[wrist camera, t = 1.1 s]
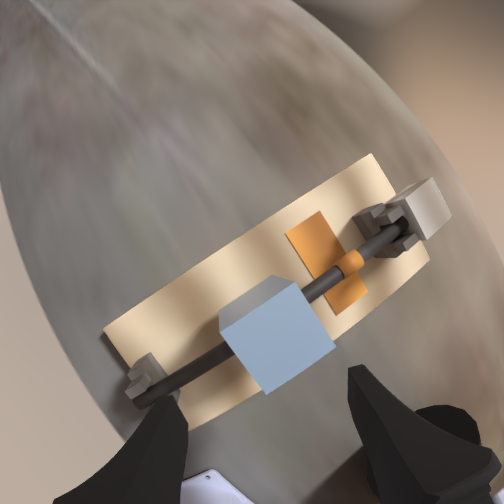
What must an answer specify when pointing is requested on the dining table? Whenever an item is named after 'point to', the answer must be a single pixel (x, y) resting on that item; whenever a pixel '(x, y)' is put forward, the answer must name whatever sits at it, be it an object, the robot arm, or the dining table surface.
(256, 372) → the light blue block
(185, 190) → the dining table surface
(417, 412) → the black cylinder
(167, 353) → the cord board
